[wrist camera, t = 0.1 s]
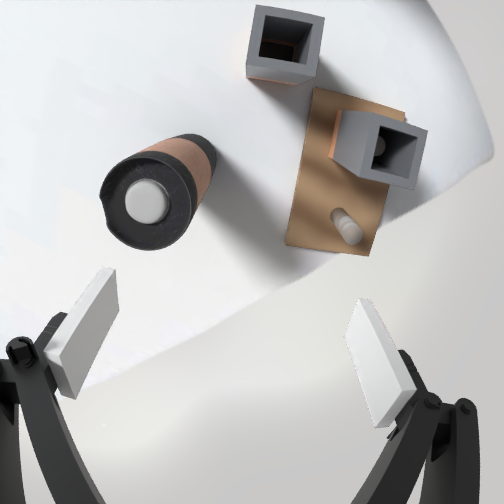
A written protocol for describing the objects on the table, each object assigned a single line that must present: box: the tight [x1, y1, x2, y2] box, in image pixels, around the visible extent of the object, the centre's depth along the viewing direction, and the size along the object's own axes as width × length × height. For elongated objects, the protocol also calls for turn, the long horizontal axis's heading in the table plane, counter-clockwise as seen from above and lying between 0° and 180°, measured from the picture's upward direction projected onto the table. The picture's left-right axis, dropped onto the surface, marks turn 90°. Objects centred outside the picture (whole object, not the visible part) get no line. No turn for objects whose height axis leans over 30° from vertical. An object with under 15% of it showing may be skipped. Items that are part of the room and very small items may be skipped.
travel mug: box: [99, 134, 216, 251], centre depth 31 cm, size 8×8×20 cm
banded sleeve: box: [246, 5, 325, 86], centre depth 28 cm, size 6×6×12 cm
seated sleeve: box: [328, 110, 428, 190], centre depth 32 cm, size 6×6×12 cm
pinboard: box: [285, 87, 405, 256], centre depth 37 cm, size 22×13×8 cm, turn 172°
